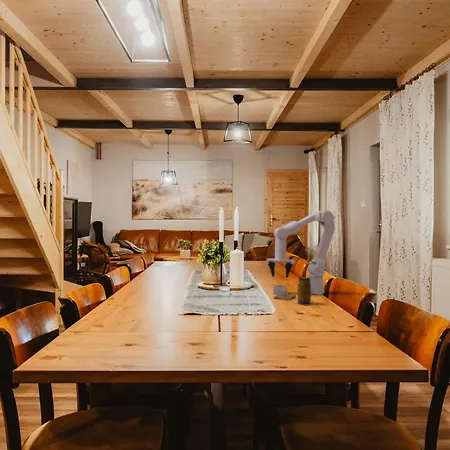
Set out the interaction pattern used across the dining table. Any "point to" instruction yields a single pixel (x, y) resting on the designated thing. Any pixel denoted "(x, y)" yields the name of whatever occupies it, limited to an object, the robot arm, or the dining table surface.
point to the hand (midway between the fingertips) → (280, 276)
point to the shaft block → (285, 296)
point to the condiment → (304, 291)
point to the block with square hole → (279, 289)
